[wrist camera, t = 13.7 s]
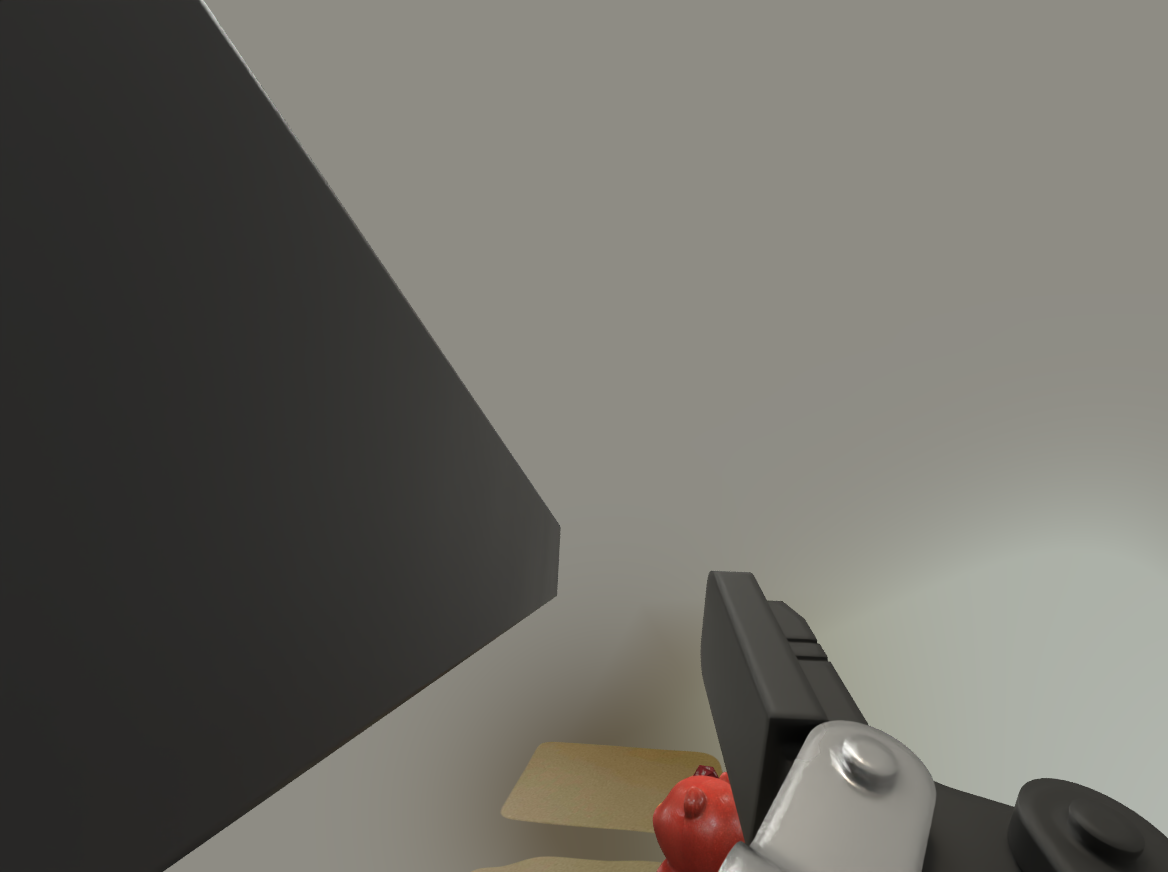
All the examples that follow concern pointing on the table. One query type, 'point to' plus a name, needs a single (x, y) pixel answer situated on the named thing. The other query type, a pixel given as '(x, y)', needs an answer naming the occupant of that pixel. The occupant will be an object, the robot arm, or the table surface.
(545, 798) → the table surface
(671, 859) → the stacking bear
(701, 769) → the dice
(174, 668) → the sliding door
